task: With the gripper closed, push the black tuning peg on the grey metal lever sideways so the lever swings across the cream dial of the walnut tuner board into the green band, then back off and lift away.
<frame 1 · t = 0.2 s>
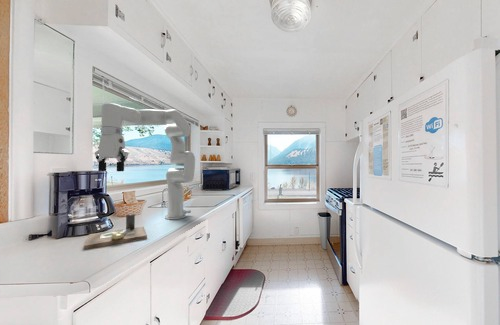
hand: (111, 171, 89), 30 cm above the worktop, fingers open, 9 cm apart
tuner board: (117, 238, 92), on the worktop
tuner lever: (124, 225, 93), point 5 cm above the worktop, hinge at -25.0°
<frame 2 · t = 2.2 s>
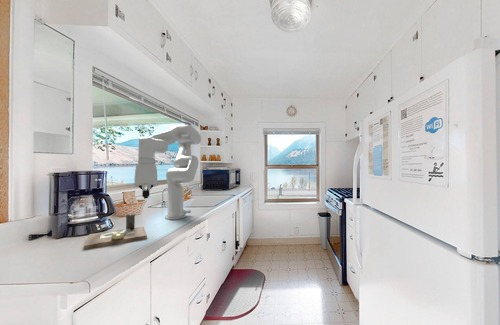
hand: (145, 198, 103), 16 cm above the worktop, fingers closed
nothing on the worktop moved.
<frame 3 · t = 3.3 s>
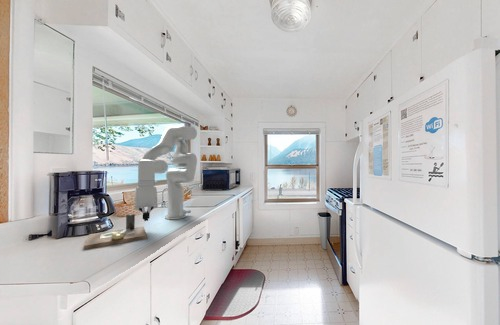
hand: (146, 220, 103), 5 cm above the worktop, fingers closed
nothing on the worktop moved.
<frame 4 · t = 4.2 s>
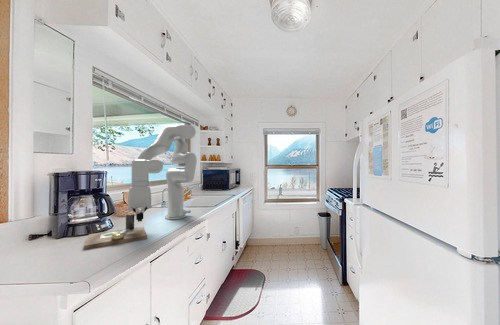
hand: (139, 220, 102), 5 cm above the worktop, fingers closed
tuner lever: (124, 225, 93), point 5 cm above the worktop, hinge at -24.1°, touching gripper
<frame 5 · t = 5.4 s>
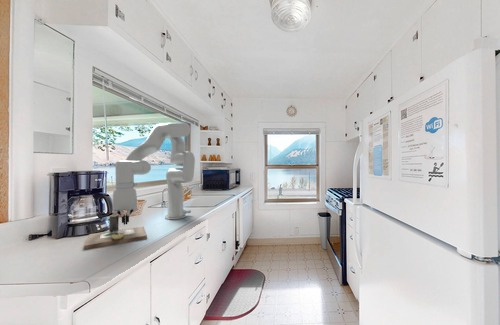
hand: (125, 223, 99), 5 cm above the worktop, fingers closed
tuner lever: (115, 226, 92), point 5 cm above the worktop, hinge at 7.6°, touching gripper
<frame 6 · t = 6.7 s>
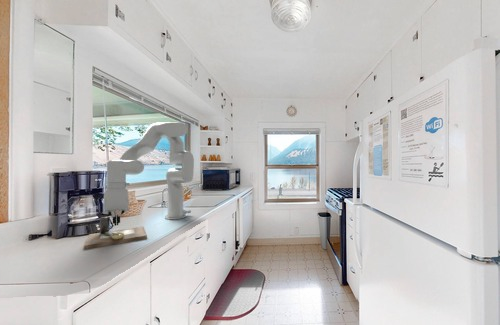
hand: (116, 224, 97), 5 cm above the worktop, fingers closed
tuner lever: (111, 227, 90), point 5 cm above the worktop, hinge at 25.0°, touching gripper
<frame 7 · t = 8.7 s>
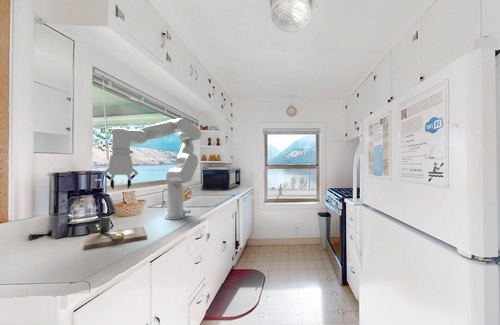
hand: (120, 187, 103), 22 cm above the worktop, fingers open, 6 cm apart
tuner lever: (111, 227, 90), point 5 cm above the worktop, hinge at 25.4°
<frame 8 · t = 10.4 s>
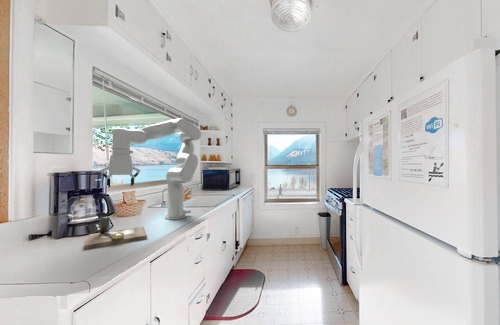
hand: (120, 186, 103), 22 cm above the worktop, fingers open, 9 cm apart
nothing on the worktop moved.
at the end: tuner lever at +25° (first picture: -25°) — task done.
